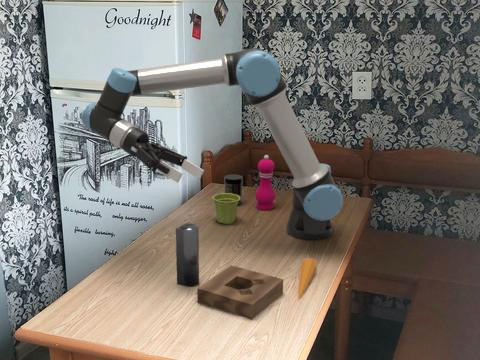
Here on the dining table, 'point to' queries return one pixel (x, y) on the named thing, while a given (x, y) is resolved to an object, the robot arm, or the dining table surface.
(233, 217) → the plant pot
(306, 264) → the carrot
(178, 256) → the d peg
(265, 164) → the pepper mill
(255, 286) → the socket block
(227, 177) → the supplement container
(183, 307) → the dining table surface
